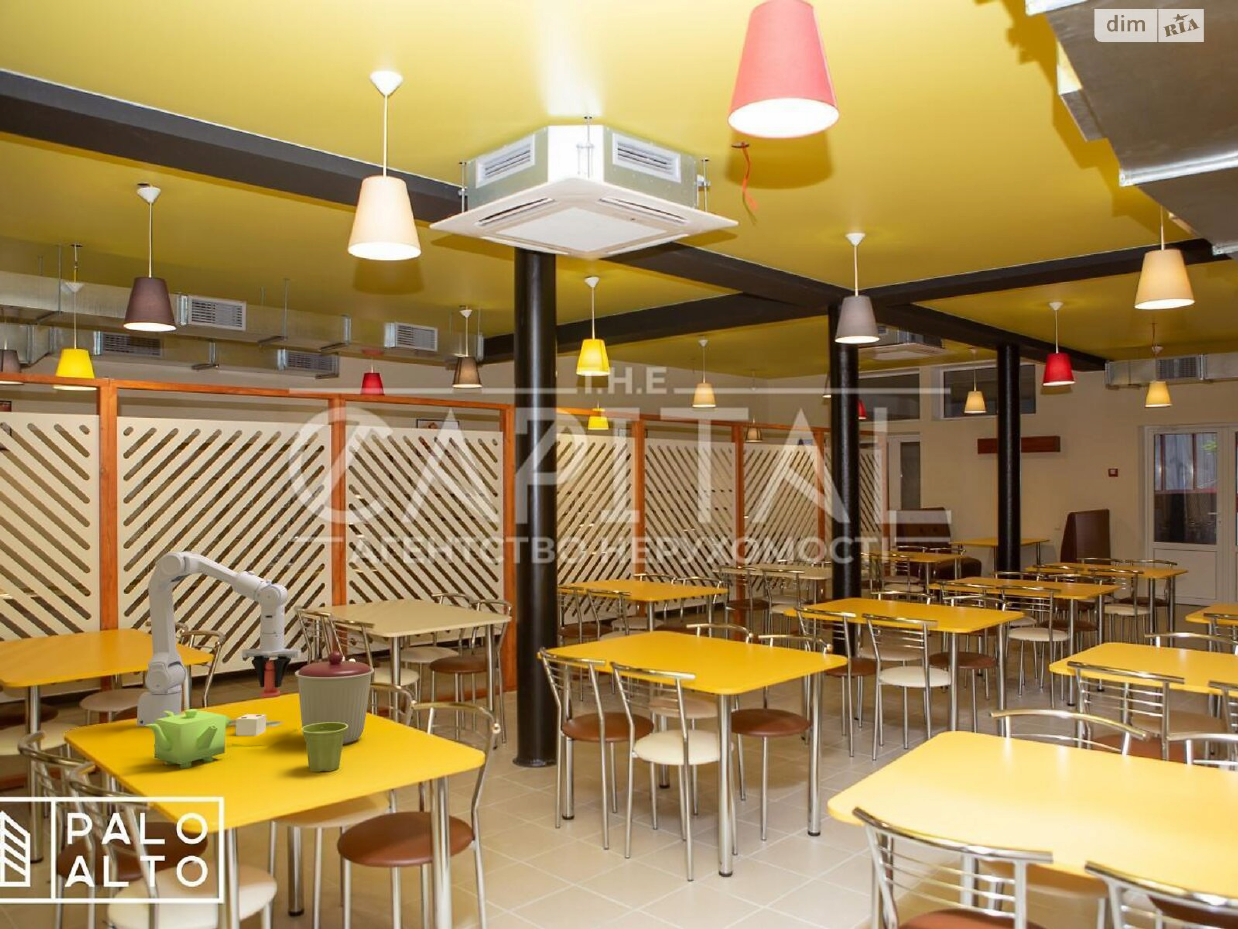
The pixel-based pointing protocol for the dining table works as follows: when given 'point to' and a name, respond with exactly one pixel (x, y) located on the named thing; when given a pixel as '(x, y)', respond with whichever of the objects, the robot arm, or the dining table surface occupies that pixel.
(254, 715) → the die
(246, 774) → the dining table surface
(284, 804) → the dining table surface
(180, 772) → the dining table surface
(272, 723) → the board
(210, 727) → the kettle
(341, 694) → the canister
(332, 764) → the plant pot
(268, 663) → the pawn
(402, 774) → the dining table surface
